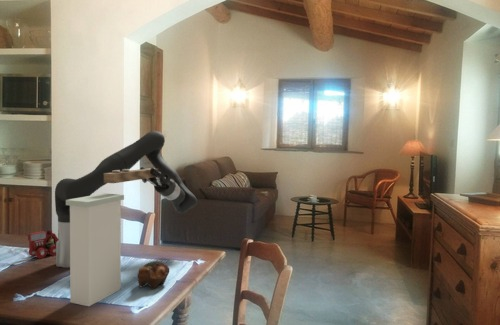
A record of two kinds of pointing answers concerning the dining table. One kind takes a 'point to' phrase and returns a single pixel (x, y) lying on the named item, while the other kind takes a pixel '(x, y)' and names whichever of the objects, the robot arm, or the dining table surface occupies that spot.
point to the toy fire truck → (42, 243)
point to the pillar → (95, 247)
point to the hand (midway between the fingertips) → (146, 169)
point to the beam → (127, 175)
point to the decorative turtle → (153, 274)
